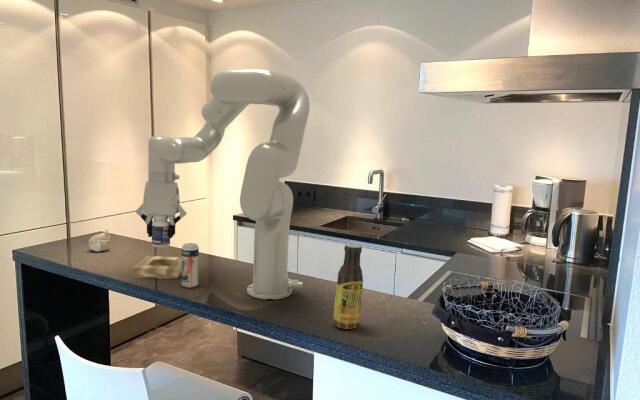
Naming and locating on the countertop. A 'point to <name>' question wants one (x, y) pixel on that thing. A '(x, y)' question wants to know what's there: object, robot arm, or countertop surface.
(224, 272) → the countertop surface
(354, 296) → the sauce bottle
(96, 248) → the garlic bulb
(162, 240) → the pill bottle
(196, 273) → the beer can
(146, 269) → the socket block
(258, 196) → the robot arm
